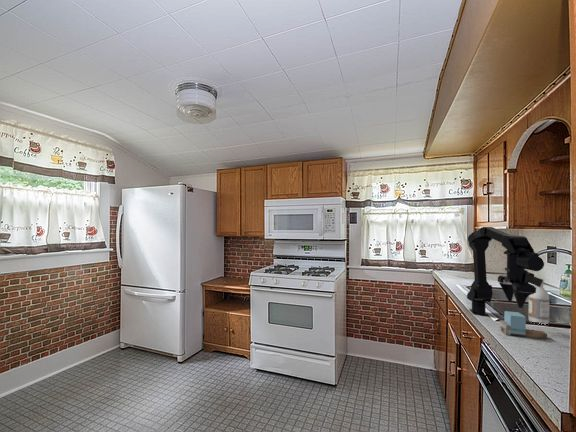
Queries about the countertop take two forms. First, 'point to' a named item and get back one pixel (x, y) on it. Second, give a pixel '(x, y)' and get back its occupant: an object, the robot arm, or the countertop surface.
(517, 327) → the block
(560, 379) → the countertop surface
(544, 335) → the rail
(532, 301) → the bath foam
